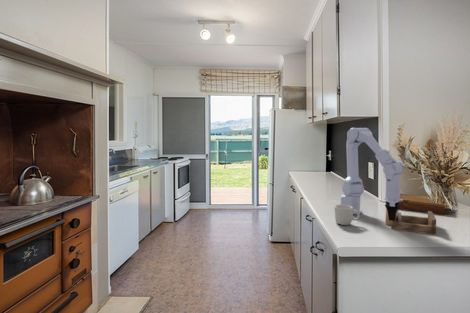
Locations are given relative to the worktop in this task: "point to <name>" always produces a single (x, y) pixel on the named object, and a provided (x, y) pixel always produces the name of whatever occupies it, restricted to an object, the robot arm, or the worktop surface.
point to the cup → (345, 214)
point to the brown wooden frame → (416, 224)
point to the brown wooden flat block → (420, 204)
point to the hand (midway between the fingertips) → (391, 218)
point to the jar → (390, 220)
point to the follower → (399, 217)
